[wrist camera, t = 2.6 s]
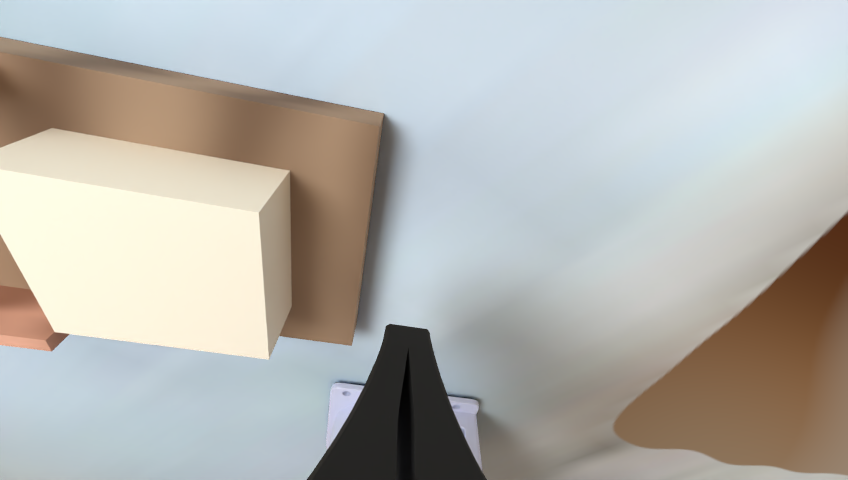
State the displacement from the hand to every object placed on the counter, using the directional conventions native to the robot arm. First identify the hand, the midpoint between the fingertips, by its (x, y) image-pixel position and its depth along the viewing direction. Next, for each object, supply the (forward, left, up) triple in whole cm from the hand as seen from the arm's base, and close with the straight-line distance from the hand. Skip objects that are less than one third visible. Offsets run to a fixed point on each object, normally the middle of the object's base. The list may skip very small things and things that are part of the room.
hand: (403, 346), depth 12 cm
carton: (+9, 0, -4) cm, 10 cm away
